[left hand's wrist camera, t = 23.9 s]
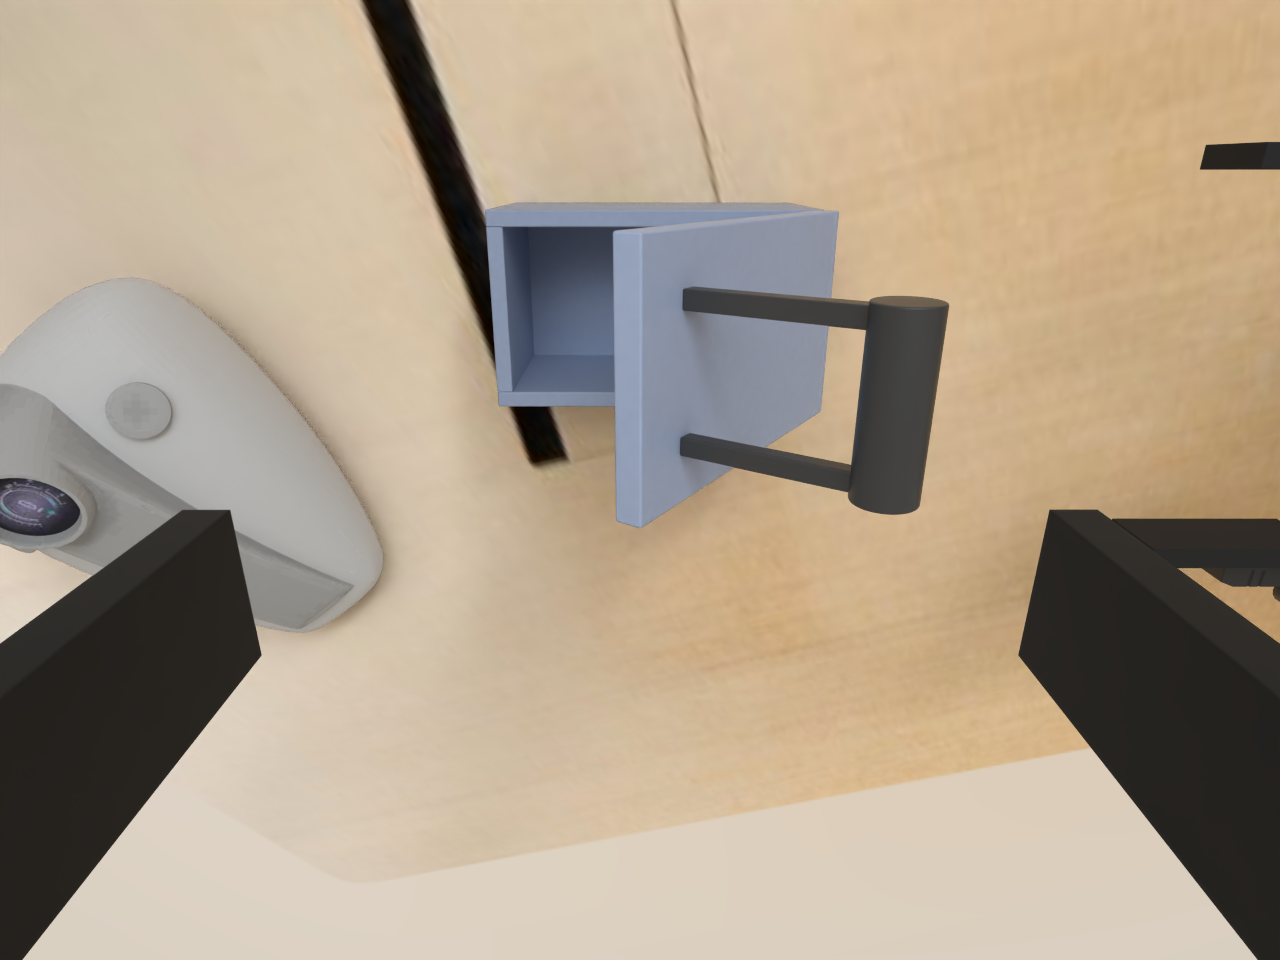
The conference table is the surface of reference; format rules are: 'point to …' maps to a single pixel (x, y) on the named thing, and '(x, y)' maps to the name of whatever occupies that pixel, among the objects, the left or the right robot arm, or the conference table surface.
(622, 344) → the lid
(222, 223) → the conference table surface
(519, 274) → the chest
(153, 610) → the left robot arm
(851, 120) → the conference table surface
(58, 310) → the projector
